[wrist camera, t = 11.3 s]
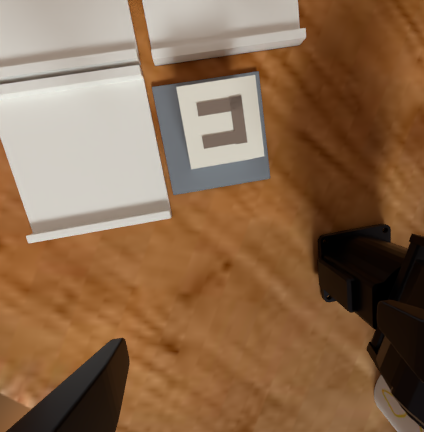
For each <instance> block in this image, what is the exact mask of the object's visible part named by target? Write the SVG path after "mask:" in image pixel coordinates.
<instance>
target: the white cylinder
mask: <svg viewBox="0 0 424 432" xmlns="http://www.w3.org/2000/svg"><path fill="white" fill-rule="evenodd" d="M374 399H375V402H376V405H377V406H378V408H379V409H380V410H381V411H382V413H383V414H384V415H385V417H386V418H387V419H388V420H389V422H390V423H391V424H392V425H393V427H394V428H395V429H396V431H397V432H424V429H423V428H421V427H420V426H419V425H418V424H417V423H416V422H415V421H414V420H412V419H411V418H410V417H409V416H408V415H407V414H406V412H405V411H404V410H403V409H402V408H401V406H400V405H399V403H398V402H397V401H396V400H395V398H394V397H393V395H392V393H391V391H390V389H389V387H388V385H387V383H386V382H385V380H384V378H383V377H382V375H380V377H379V379H378V380H377V383H376V385H375V389H374Z"/></svg>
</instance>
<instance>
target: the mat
mask: <svg viewBox="0 0 424 432" xmlns="http://www.w3.org/2000/svg"><path fill="white" fill-rule="evenodd" d="M251 75H255V78H256V86H257V95H258V104H259V112H260V121H261V130H262V138H263V147H264V156H263V157H258V158H254V159H249V160H243V161H238V162H232V163H226V164H220V165H214V166H208V167H203V168H197V169H191V165H190V160H189V155H188V149H187V144H186V138H185V133H184V127H183V122H182V116H181V111H180V105H179V100H178V95H177V89H176V87H179V86H185V85H192V84H198V83H205V82H212V81H218V80H225V79H231V78H238V77H244V76H251ZM152 90H153V95H154V100H155V105H156V110H157V115H158V120H159V125H160V130H161V135H162V140H163V145H164V150H165V155H166V160H167V165H168V170H169V175H170V180H171V185H172V190H173V195H177V194H183V193H189V192H194V191H200V190H206V189H212V188H217V187H223V186H229V185H235V184H241V183H246V182H252V181H258V180H264V179H270V171H269V162H268V152H267V143H266V134H265V125H264V116H263V107H262V98H261V89H260V79H259V71H257V72H251V73H244V74H237V75H230V76H224V77H217V78H210V79H203V80H197V81H190V82H183V83H176V84H170V85H163V86H156V87H152Z"/></svg>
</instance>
